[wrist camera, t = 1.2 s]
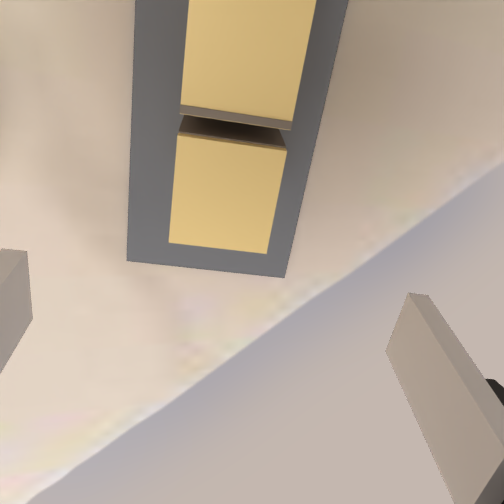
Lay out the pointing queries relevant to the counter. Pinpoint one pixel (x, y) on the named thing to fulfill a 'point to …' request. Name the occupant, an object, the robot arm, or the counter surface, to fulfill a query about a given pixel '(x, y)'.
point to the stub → (225, 184)
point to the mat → (168, 123)
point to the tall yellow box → (245, 59)
